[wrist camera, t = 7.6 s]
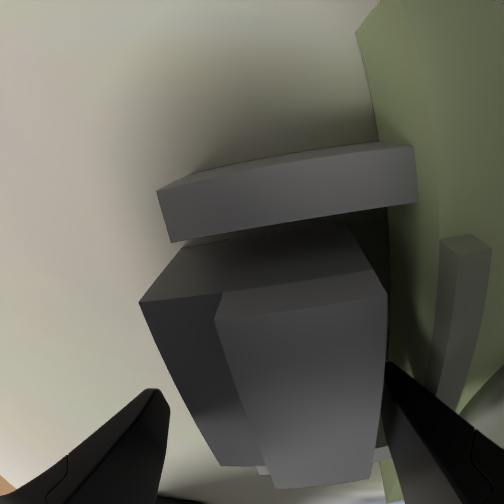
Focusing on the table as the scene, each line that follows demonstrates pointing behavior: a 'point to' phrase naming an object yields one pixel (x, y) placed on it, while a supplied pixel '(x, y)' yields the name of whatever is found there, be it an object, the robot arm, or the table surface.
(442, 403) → the robot arm
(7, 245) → the table surface
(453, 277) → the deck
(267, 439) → the grey stepped block
